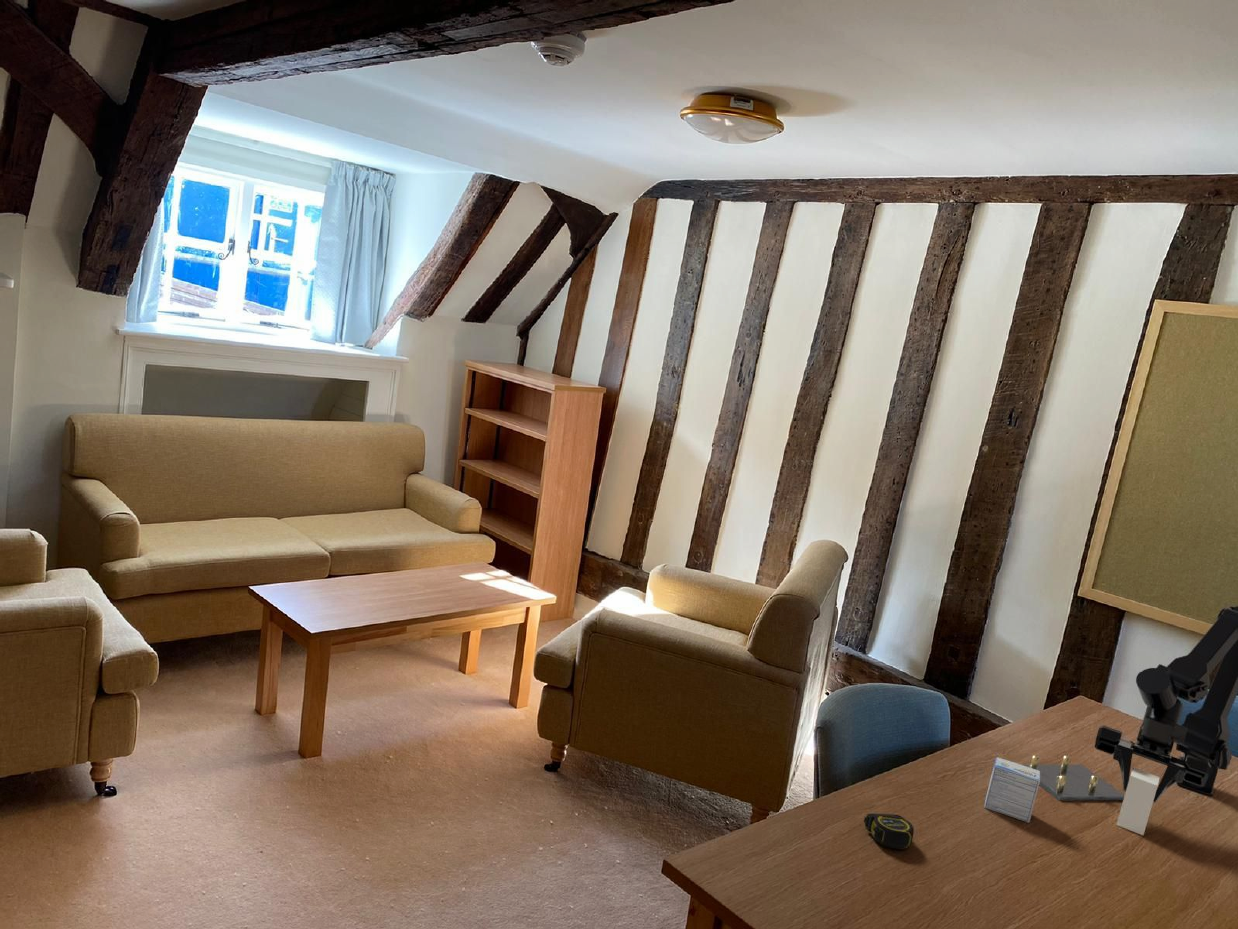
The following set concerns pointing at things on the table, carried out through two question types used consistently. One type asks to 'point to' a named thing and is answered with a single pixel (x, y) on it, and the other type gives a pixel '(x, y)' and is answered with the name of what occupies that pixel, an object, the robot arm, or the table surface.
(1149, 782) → the block
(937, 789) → the table surface
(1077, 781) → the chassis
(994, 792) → the medicine box
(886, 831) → the tape measure
